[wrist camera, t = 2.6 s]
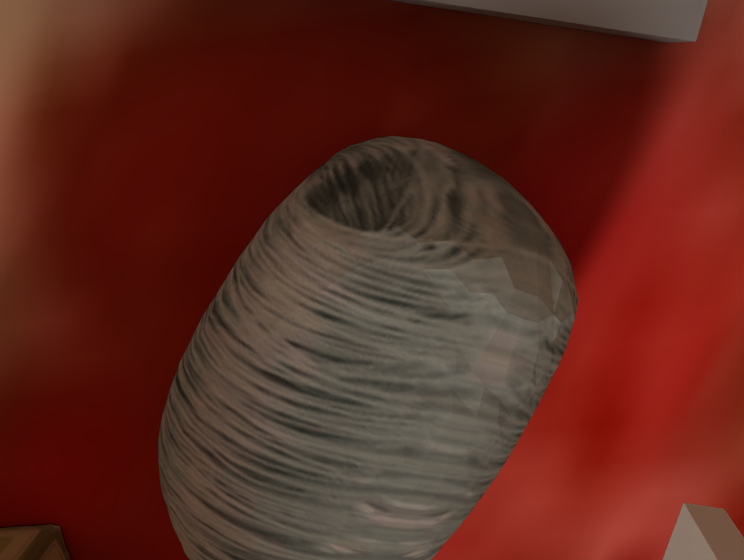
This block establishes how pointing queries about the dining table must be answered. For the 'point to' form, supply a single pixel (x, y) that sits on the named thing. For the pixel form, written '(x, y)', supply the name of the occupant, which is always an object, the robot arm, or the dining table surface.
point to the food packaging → (32, 543)
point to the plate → (595, 15)
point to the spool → (365, 362)
